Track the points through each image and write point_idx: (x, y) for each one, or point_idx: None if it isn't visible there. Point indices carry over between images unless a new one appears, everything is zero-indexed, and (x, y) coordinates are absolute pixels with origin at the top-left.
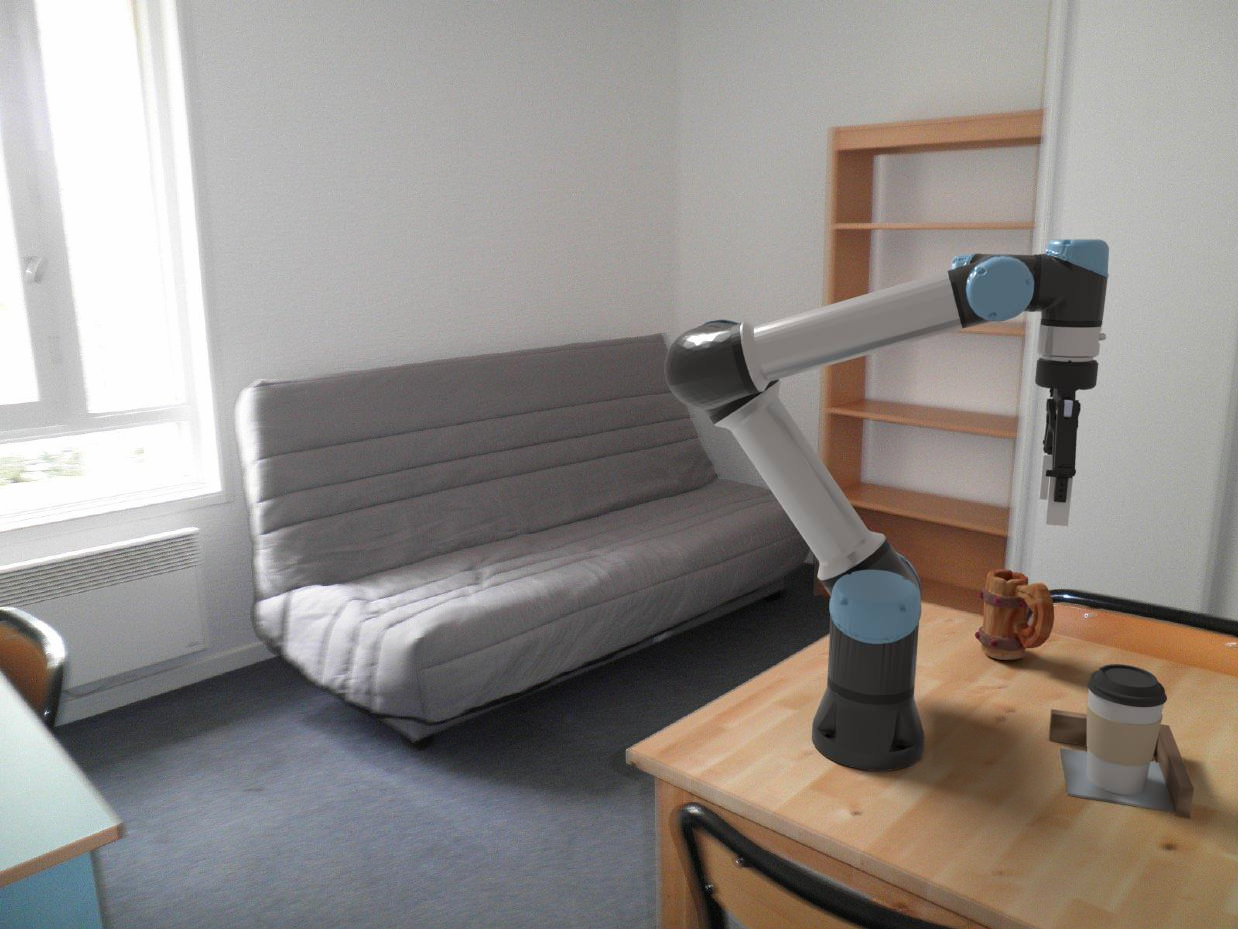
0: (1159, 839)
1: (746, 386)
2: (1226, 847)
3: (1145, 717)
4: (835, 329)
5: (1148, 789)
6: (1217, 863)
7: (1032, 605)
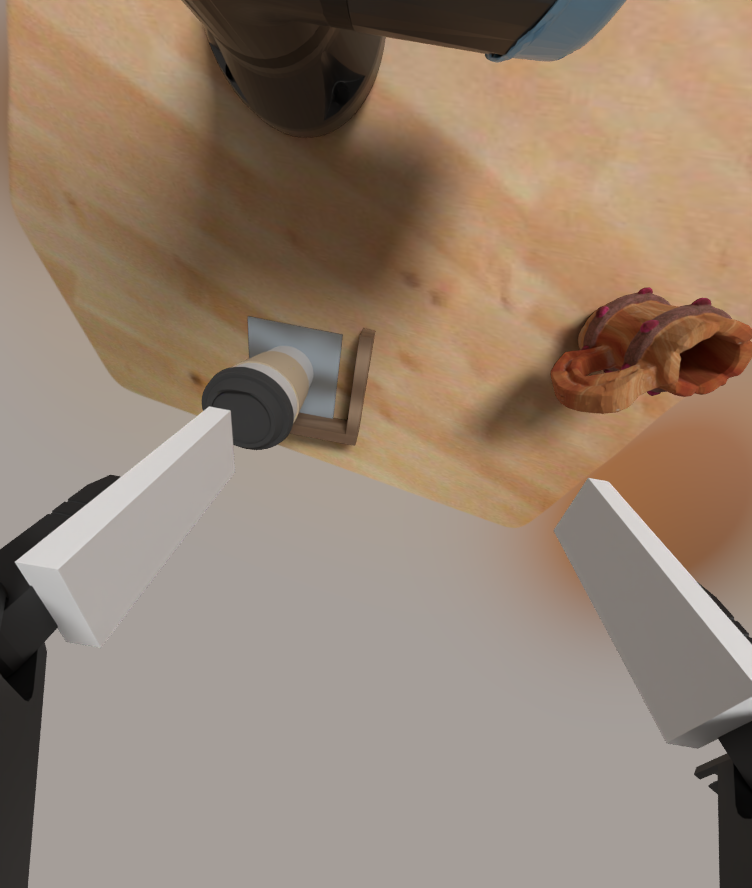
0: (204, 376)
1: None
2: None
3: None
4: None
5: None
6: (188, 406)
7: (593, 379)
